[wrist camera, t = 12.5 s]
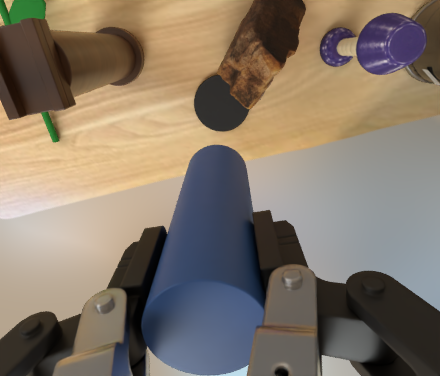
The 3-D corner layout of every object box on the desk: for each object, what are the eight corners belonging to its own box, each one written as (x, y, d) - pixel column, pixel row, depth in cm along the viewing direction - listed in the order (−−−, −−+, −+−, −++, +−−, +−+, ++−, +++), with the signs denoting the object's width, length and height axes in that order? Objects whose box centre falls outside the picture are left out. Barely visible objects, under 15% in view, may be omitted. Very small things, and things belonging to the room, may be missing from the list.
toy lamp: (308, 50, 39) (361, 56, 24) (334, 13, 38) (408, -6, 22) (339, 73, 40) (409, 93, 25) (366, 37, 39) (458, 35, 23)
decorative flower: (109, 129, 46) (14, -182, 30) (96, 143, 41) (-22, -208, 26) (23, 136, 47) (-110, -158, 31) (2, 151, 43) (-163, -178, 27)
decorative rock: (248, 100, 42) (256, 119, 32) (208, 72, 40) (203, 82, 30) (310, 11, 38) (341, 1, 28) (268, -23, 36) (284, -47, 26)
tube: (194, 203, 21) (182, 149, 19) (250, 195, 21) (242, 140, 19) (158, 381, 10) (124, 289, 9) (277, 369, 10) (263, 271, 8)
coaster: (218, 62, 40) (218, 62, 39) (260, 100, 42) (261, 100, 41) (183, 107, 42) (183, 107, 42) (225, 141, 44) (225, 142, 43)
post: (83, 33, 39) (-53, 26, 20) (135, 22, 38) (47, 4, 19) (100, 88, 41) (-5, 129, 22) (150, 79, 41) (84, 113, 22)
